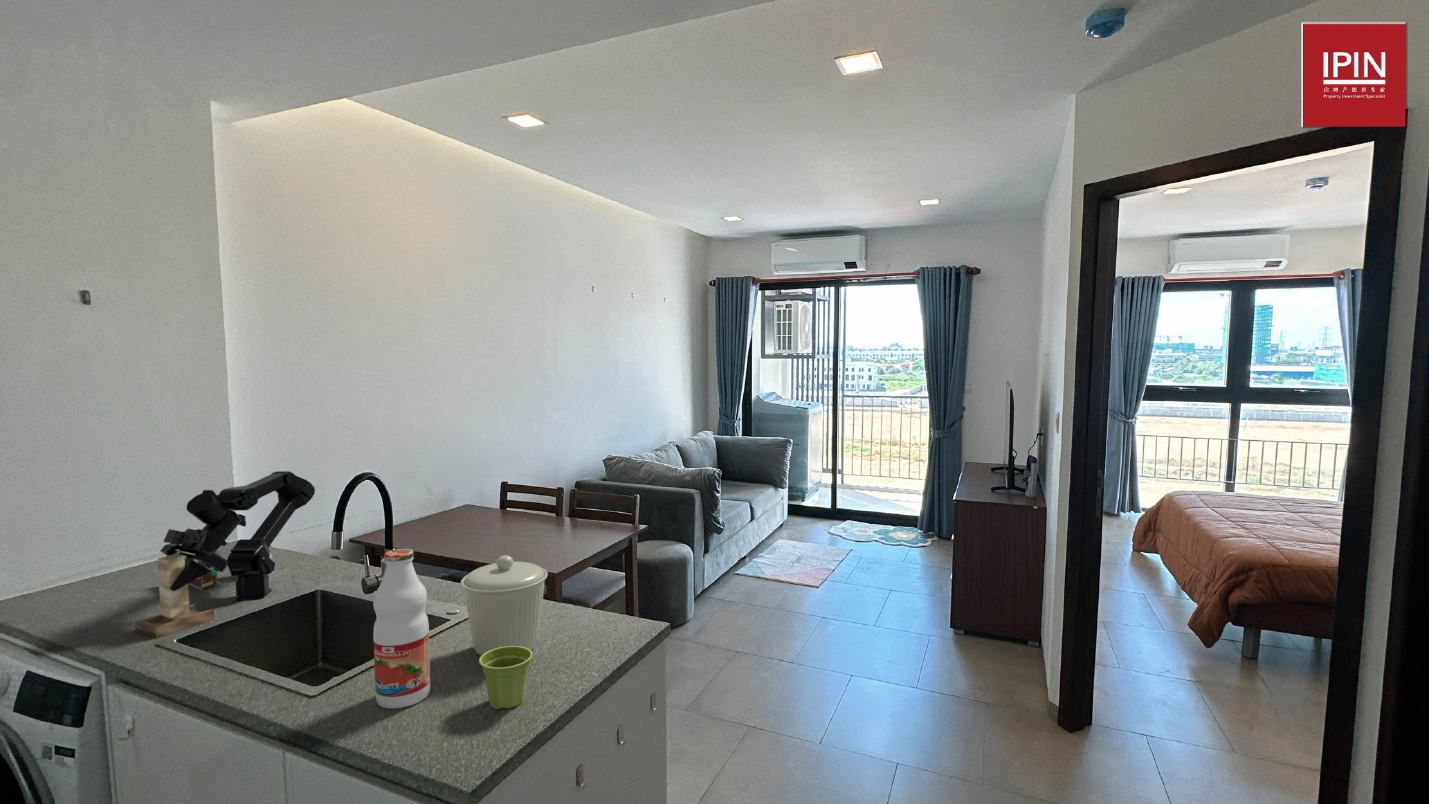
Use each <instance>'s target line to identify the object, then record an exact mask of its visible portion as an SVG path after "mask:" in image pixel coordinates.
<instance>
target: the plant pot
mask: <svg viewBox="0 0 1429 804" xmlns="http://www.w3.org/2000/svg"><path fill="white" fill-rule="evenodd" d="M532 658H533V651H532V650H530V649H528V648H525V647H521V646H505V647H499V648H496V649H492V650H490V651H488V652H486V653H484V654H483V655H482V656H480V657H479V660H478V661H479V662H478V663H479V665H480V666H481V667H482V671H483V673H484V678H485V682H486V689H487V696H488V702H489V705H490V707H492V708H493V709H496V710H501V709H503V708H505V709H512V708H514V707H515V708H516V707H517V706H519V705H520V704H521V703H523V700H524V698H525V691H526V682H527V676H528V670H529V668H528V667H529V666H530V664H531V663H530V661H531V659H532Z"/></svg>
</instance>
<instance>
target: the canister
mask: <svg viewBox="0 0 1429 804" xmlns="http://www.w3.org/2000/svg"><path fill="white" fill-rule="evenodd" d="M547 578H548V571H547V570H546V569H545V568H543V567H541V566H540V565H537V564H534V563H532V562H525V561H514V559H513V557H512V556H510V555H501V556H499V557H498V558H497V559H496V561H495V563H490V564H485V565H484V566H480V567H477V568H476V569H473V570H472V571H471V572H469V573H468V574H466V575H464V577H463V578H462V579H461V580H460V585H461V587H462V588H463V589H464V594H465V595H464V597H465V603H466V608H467V616H468V622H469V623H468V624H469V630H470V634H471V641H472V645H473V647H474V650H475V652H476V653H477V654H478V655H479V656H480V657H481V656H482V655H483V654H484V653H486V652H488V651H490V650H492V649H496V648H499V647H505V646H521V647H525V648H528V649H530V650H531V651H532V650H533V649H534V648H535V647H536V645H537V643H538V641H539V640H538V639H539V637H540V632H541V631H540V630H541V622H542V614H543V613H542V612H543V600H544V591H545V581H546V580H547Z"/></svg>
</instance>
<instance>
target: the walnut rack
mask: <svg viewBox="0 0 1429 804" xmlns="http://www.w3.org/2000/svg"><path fill="white" fill-rule="evenodd" d="M189 611H190V612H189V613H185V614H182V615H179V616H176V617H173V618H168V617H165V616H161V613H159V614H155V615H152V616H148V617H145V618H142V619H138V620H135V622H134V630H135V631H136V633H138V634H142V635H144V636H148V637H152V638H154V639H159V638H162V637H165V636H167V635H171V634H174V633H177V631H178V632H180V631H183V629H184V630H186V629H190V628H193V627H196V626H199V625H202V624H206V623H208V622H212V621H215V609H212V608H210V609H207V610H204V611H197V610H196V604H189Z"/></svg>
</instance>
